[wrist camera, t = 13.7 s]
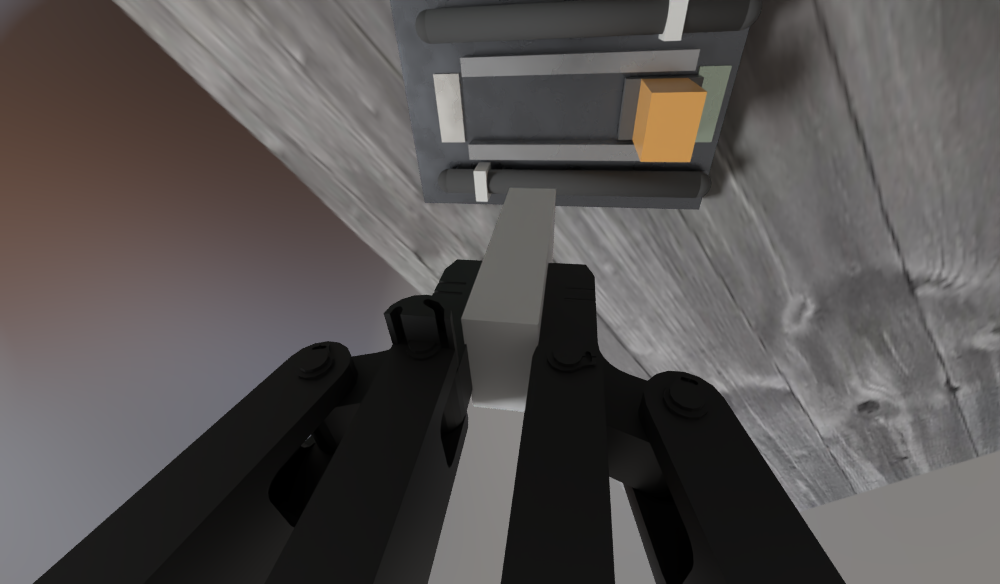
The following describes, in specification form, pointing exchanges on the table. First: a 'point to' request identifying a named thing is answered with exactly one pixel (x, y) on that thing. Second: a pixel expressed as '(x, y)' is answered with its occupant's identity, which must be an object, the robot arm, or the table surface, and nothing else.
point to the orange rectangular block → (662, 116)
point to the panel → (550, 102)
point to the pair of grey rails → (597, 13)
